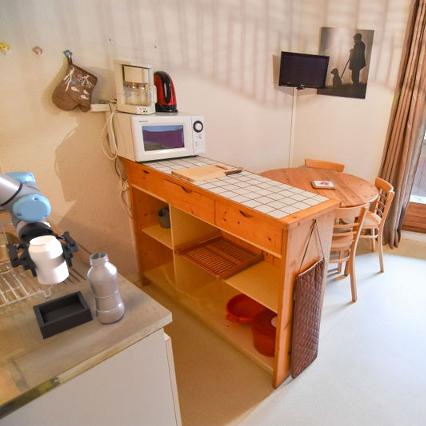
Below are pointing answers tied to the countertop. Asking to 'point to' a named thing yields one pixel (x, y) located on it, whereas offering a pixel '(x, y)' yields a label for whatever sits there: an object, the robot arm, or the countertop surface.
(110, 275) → the plastic bottle
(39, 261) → the beverage can
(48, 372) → the countertop surface
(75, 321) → the black tray
